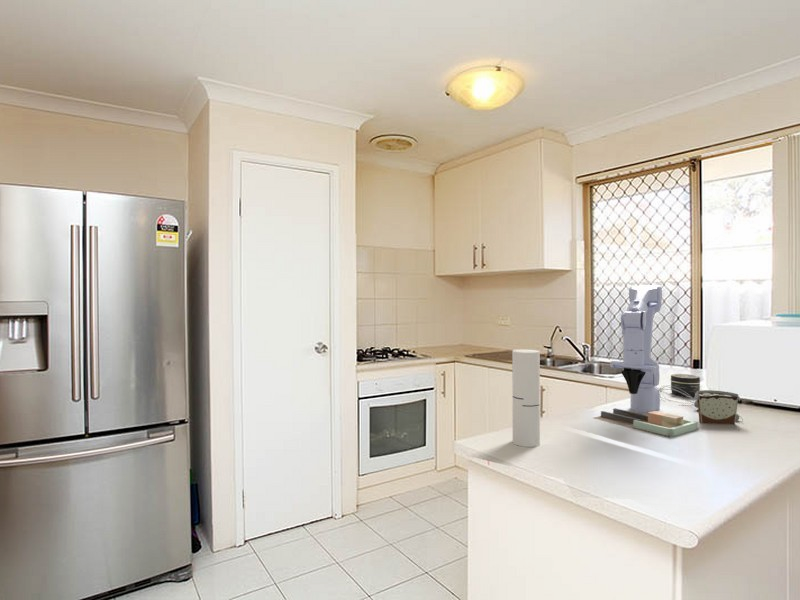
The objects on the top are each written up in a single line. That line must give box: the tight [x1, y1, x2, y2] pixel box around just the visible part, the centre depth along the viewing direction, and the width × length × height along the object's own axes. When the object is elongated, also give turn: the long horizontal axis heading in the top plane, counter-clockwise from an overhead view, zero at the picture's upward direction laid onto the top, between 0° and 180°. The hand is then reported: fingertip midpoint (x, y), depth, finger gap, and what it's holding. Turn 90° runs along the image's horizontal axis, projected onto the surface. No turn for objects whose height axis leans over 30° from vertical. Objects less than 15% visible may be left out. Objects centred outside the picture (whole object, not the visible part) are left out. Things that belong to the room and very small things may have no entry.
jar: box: [670, 373, 701, 398], centre depth 184 cm, size 10×10×8 cm
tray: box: [633, 418, 699, 438], centre depth 135 cm, size 14×11×2 cm
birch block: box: [662, 413, 684, 428], centre depth 134 cm, size 4×4×4 cm
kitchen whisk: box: [659, 385, 744, 423], centre depth 161 cm, size 6×34×6 cm, turn 12°
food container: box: [693, 389, 741, 425], centre depth 143 cm, size 12×6×10 cm, turn 84°
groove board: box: [593, 408, 700, 439], centre depth 141 cm, size 16×24×2 cm, turn 31°
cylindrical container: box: [511, 348, 541, 448], centre depth 126 cm, size 7×7×25 cm
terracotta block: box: [647, 410, 670, 426], centre depth 137 cm, size 4×4×4 cm
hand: (633, 393), depth 144 cm, fingers closed
